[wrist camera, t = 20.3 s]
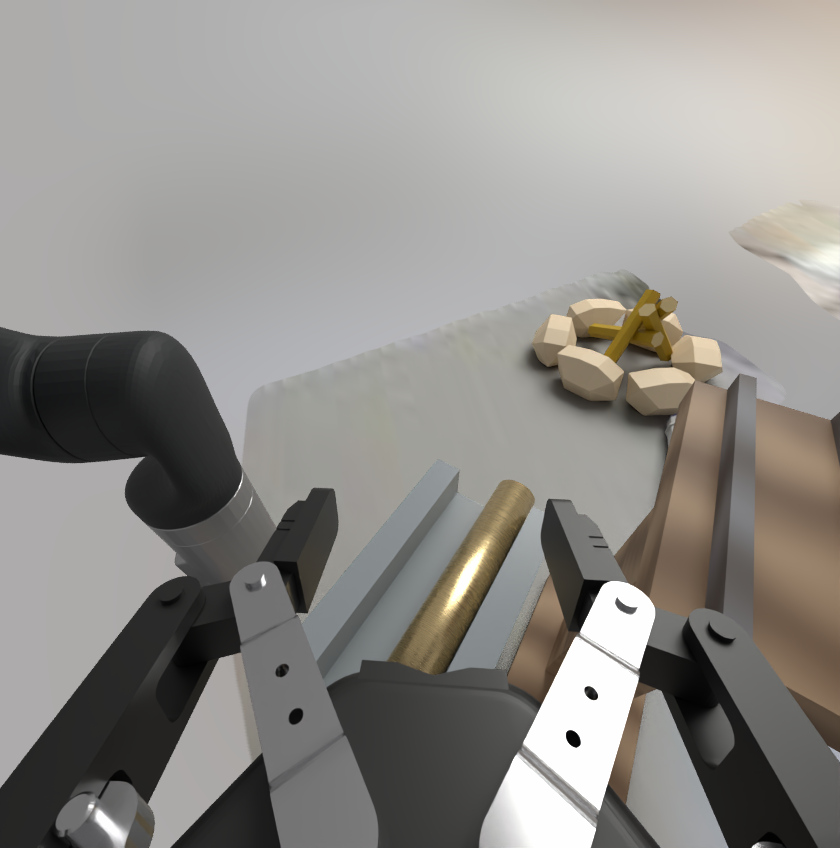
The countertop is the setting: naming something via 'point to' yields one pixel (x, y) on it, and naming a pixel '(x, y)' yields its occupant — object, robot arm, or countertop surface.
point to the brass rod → (464, 582)
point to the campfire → (641, 328)
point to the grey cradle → (419, 582)
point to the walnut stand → (731, 551)
